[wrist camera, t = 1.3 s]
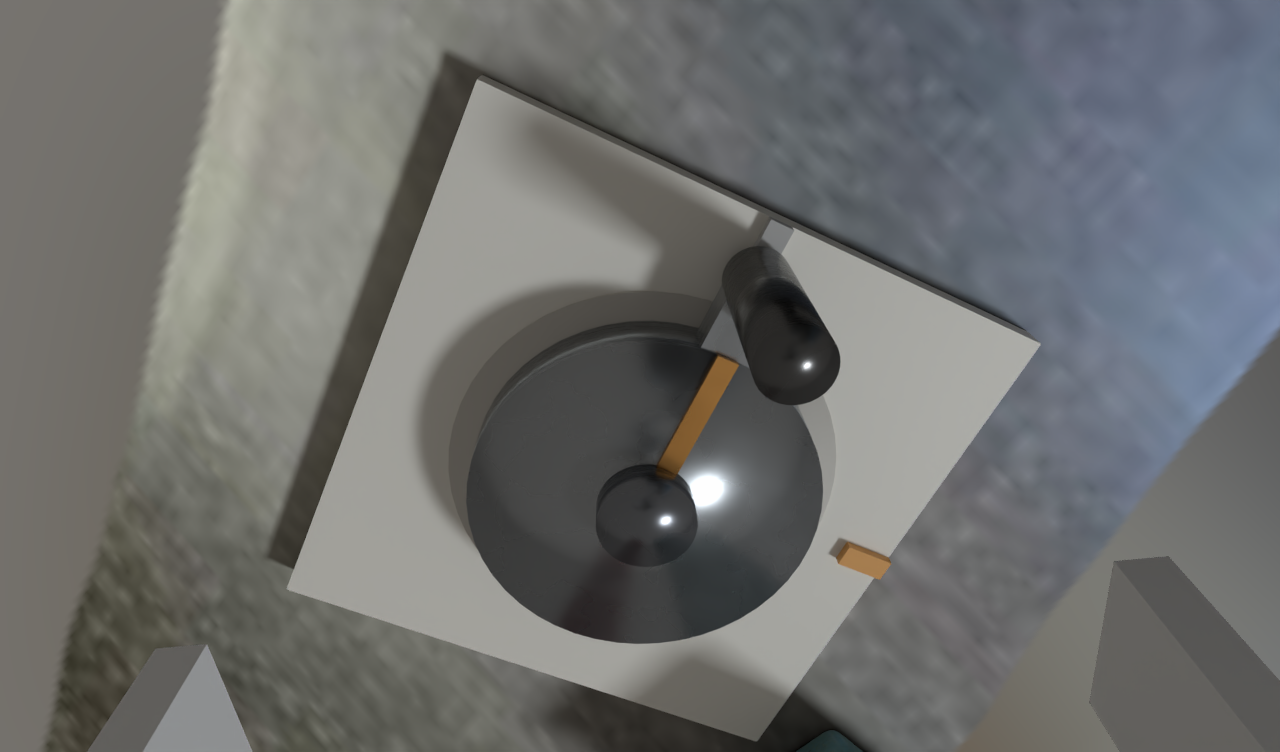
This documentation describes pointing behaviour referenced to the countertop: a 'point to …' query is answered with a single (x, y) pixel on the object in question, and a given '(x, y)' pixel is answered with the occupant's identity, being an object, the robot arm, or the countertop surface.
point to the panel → (614, 293)
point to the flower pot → (830, 743)
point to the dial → (659, 464)
